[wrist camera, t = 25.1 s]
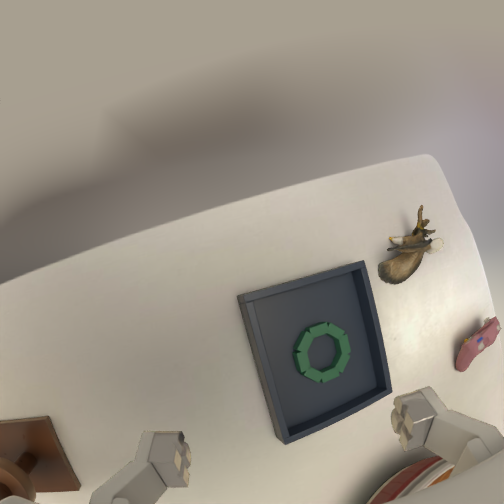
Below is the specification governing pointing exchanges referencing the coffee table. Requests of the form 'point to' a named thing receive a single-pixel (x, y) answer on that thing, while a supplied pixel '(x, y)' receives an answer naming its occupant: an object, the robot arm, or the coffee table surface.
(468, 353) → the video game controller
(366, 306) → the tray
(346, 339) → the ring
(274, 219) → the coffee table surface
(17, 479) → the peg stand
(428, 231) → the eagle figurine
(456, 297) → the coffee table surface
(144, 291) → the coffee table surface
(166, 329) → the coffee table surface
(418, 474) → the bowl
